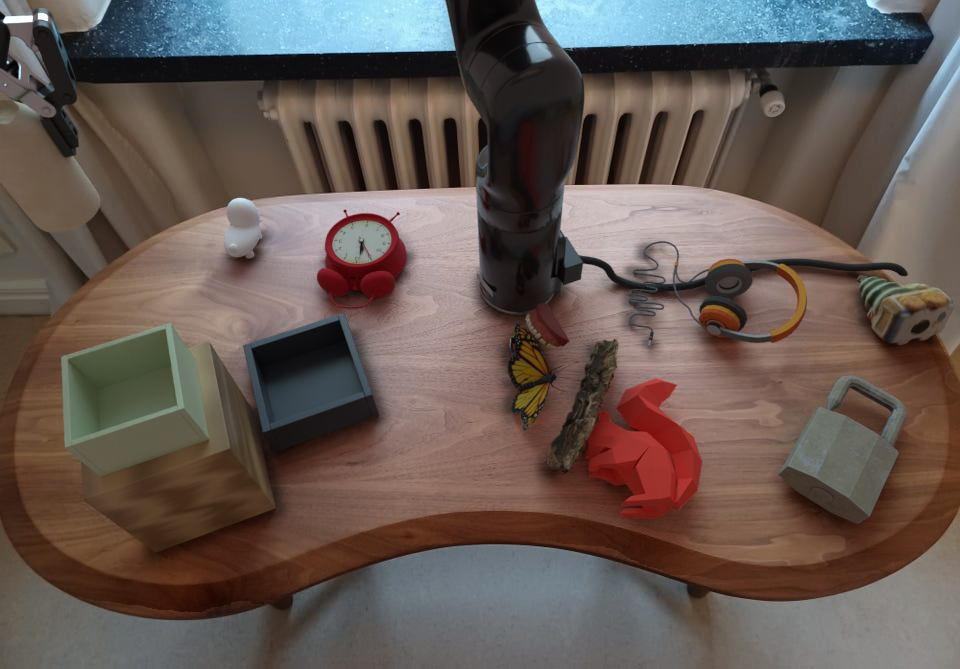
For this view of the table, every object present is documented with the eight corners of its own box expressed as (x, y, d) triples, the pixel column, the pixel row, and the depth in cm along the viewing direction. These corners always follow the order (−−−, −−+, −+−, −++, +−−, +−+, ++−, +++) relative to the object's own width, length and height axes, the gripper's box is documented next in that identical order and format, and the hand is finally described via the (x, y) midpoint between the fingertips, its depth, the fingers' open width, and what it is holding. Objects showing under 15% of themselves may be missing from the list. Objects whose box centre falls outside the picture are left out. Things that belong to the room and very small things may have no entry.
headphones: (639, 225, 86) (814, 233, 78) (642, 254, 90) (808, 264, 82) (611, 328, 77) (804, 349, 69) (615, 355, 81) (798, 378, 73)
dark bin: (351, 335, 80) (344, 312, 77) (379, 415, 74) (372, 394, 70) (255, 367, 78) (242, 345, 75) (275, 452, 72) (262, 432, 68)
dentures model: (543, 335, 70) (513, 381, 75) (575, 334, 72) (544, 379, 78) (523, 296, 73) (496, 343, 79) (555, 296, 75) (526, 342, 81)
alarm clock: (410, 206, 87) (388, 276, 76) (414, 246, 92) (393, 318, 81) (332, 203, 88) (298, 272, 77) (339, 243, 92) (308, 314, 81)
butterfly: (591, 427, 68) (559, 421, 65) (528, 445, 74) (496, 440, 71) (578, 320, 73) (548, 309, 70) (519, 345, 79) (489, 335, 75)
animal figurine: (686, 389, 74) (689, 362, 70) (707, 519, 65) (713, 496, 61) (580, 394, 76) (578, 368, 72) (586, 521, 67) (584, 499, 63)
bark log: (592, 349, 79) (590, 310, 74) (633, 359, 77) (634, 319, 72) (539, 481, 69) (531, 446, 64) (584, 495, 67) (581, 460, 62)
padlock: (774, 478, 68) (831, 377, 75) (853, 527, 66) (904, 417, 72) (790, 463, 65) (848, 358, 72) (873, 514, 62) (925, 400, 69)
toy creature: (274, 223, 92) (260, 189, 86) (255, 268, 87) (240, 234, 82) (241, 221, 92) (226, 186, 87) (221, 265, 87) (204, 232, 82)
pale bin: (195, 358, 62) (170, 322, 58) (209, 439, 57) (184, 408, 53) (94, 390, 61) (60, 356, 56) (100, 477, 56) (64, 448, 51)
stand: (254, 411, 75) (209, 340, 63) (276, 508, 68) (230, 448, 57) (143, 449, 73) (76, 382, 61) (155, 552, 66) (82, 500, 55)
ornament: (941, 341, 78) (883, 288, 85) (969, 301, 74) (906, 248, 81) (882, 351, 76) (828, 296, 83) (908, 310, 72) (849, 256, 79)
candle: (79, 238, 55) (3, 139, 47) (21, 229, 56) (-63, 131, 48) (113, 191, 58) (48, 92, 50) (57, 184, 59) (-16, 84, 51)
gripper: (-299, -10, 36) (-73, 218, 50) (-11, -66, 38) (128, 166, 52) (-263, -71, 40) (-64, 155, 54) (-6, -118, 42) (122, 109, 56)
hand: (30, 159), depth 53 cm, fingers closed on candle, 5 cm apart
